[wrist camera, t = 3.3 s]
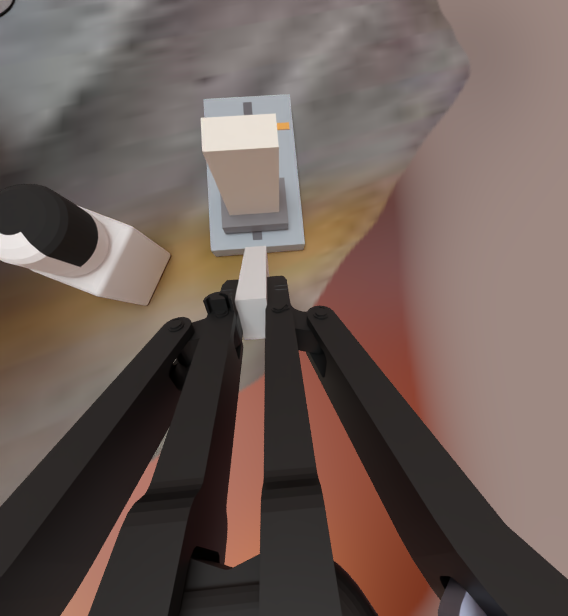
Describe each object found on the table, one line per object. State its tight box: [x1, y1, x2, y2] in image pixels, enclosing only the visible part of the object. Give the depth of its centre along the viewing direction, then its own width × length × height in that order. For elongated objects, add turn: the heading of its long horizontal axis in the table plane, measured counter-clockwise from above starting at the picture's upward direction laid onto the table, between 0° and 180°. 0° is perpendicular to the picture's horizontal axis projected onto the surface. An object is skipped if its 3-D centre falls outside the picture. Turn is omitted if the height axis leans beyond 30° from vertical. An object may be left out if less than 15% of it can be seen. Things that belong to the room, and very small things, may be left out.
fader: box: [201, 113, 289, 234], centre depth 22 cm, size 8×6×10 cm
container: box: [0, 184, 170, 306], centre depth 22 cm, size 8×8×13 cm
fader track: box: [204, 94, 305, 256], centre depth 29 cm, size 12×22×2 cm, turn 5°
